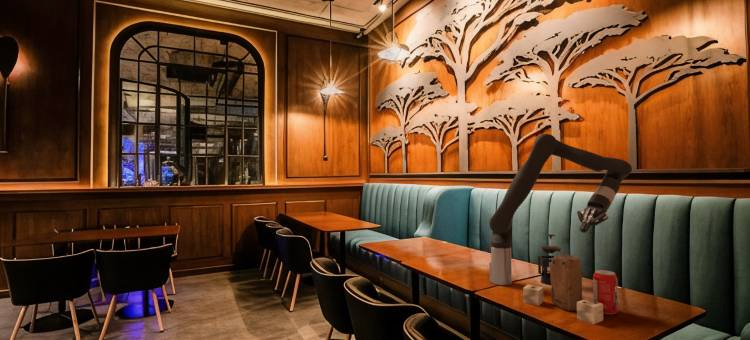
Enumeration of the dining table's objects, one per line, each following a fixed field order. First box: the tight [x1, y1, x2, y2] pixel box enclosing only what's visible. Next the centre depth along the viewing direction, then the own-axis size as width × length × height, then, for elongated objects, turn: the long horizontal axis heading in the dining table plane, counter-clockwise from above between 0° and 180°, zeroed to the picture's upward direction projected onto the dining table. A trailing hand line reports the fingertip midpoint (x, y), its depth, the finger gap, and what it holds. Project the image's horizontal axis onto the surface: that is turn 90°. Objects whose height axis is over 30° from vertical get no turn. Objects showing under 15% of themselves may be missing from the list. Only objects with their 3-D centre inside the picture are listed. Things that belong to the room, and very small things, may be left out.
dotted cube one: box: [522, 284, 544, 306], centre depth 150 cm, size 6×6×6 cm
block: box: [549, 253, 583, 312], centre depth 144 cm, size 11×8×20 cm
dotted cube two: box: [576, 298, 604, 325], centre depth 132 cm, size 6×6×6 cm
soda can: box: [592, 269, 619, 316], centre depth 139 cm, size 8×8×15 cm
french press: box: [537, 233, 562, 286], centre depth 177 cm, size 12×9×23 cm
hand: (582, 231), depth 148 cm, fingers closed
